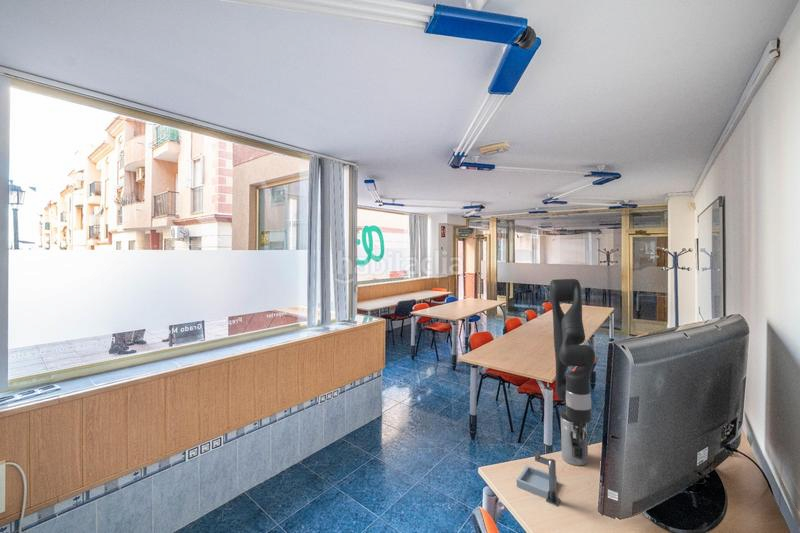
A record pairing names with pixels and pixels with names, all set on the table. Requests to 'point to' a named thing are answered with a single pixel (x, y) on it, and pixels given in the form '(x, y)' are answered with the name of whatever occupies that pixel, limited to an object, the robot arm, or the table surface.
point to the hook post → (552, 477)
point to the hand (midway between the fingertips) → (579, 454)
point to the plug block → (584, 449)
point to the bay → (534, 481)
